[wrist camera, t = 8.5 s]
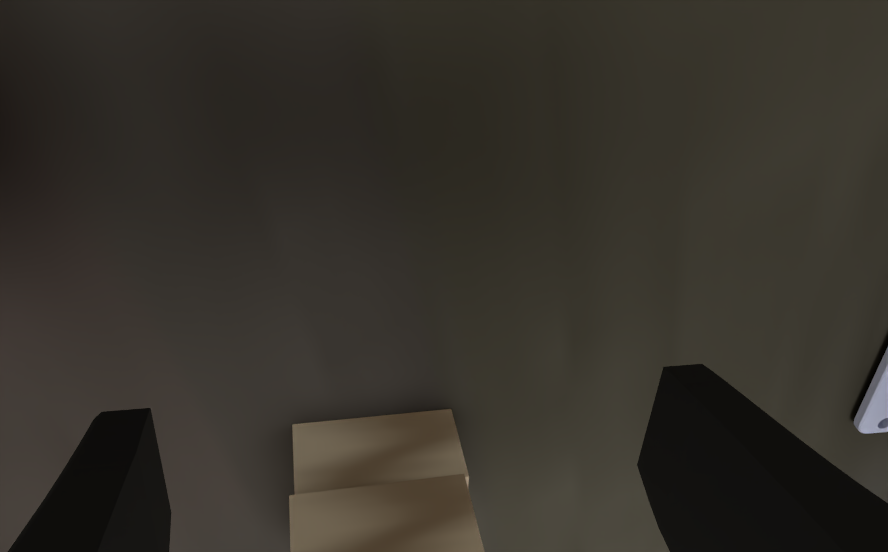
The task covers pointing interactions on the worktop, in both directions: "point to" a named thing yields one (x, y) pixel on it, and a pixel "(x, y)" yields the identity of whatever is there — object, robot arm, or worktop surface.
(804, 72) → the worktop surface
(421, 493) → the upper slab
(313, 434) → the lower slab
